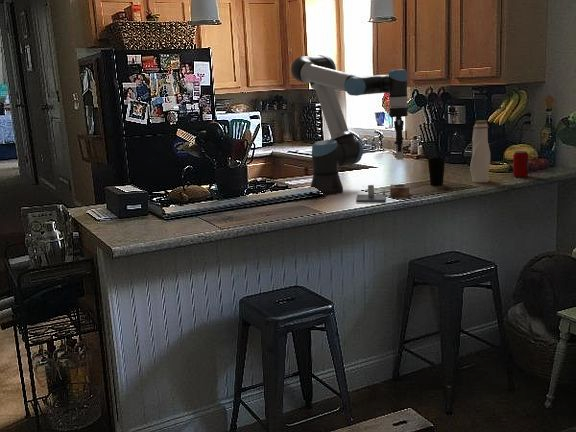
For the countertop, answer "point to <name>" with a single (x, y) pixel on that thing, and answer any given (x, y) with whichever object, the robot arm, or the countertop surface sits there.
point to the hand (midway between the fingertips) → (399, 157)
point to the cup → (436, 171)
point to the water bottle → (480, 152)
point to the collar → (399, 190)
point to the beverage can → (520, 163)
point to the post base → (375, 199)
